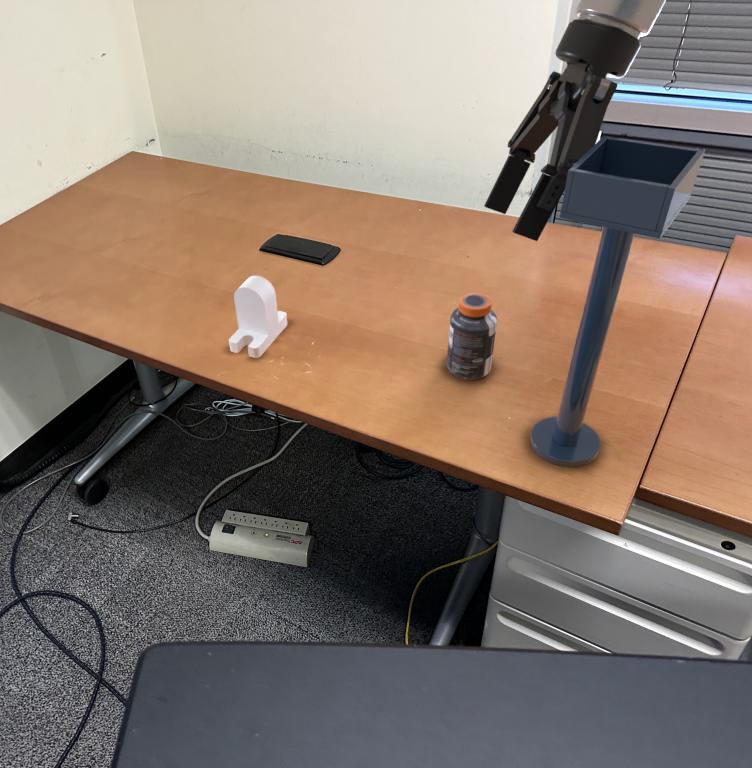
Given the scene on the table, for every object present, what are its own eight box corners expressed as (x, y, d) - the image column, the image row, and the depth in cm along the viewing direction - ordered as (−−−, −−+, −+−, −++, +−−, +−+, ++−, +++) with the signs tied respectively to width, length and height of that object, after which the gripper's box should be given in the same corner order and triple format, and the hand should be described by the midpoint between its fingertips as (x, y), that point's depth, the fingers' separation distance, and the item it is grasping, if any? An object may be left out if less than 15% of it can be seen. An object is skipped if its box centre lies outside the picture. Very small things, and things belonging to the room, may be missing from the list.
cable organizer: (288, 323, 109) (283, 268, 103) (258, 358, 103) (250, 303, 97) (260, 316, 112) (253, 262, 105) (228, 351, 105) (219, 296, 99)
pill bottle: (500, 369, 95) (510, 301, 87) (467, 387, 93) (476, 318, 85) (468, 349, 99) (475, 282, 91) (436, 365, 97) (442, 298, 90)
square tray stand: (613, 437, 83) (705, 149, 60) (586, 480, 78) (675, 188, 56) (543, 411, 88) (603, 135, 65) (514, 450, 83) (568, 170, 60)
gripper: (538, 20, 82) (458, 191, 91) (623, 9, 59) (505, 237, 69) (596, 42, 82) (510, 210, 92) (702, 39, 60) (574, 262, 69)
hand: (508, 222), depth 80 cm, fingers open, 13 cm apart
